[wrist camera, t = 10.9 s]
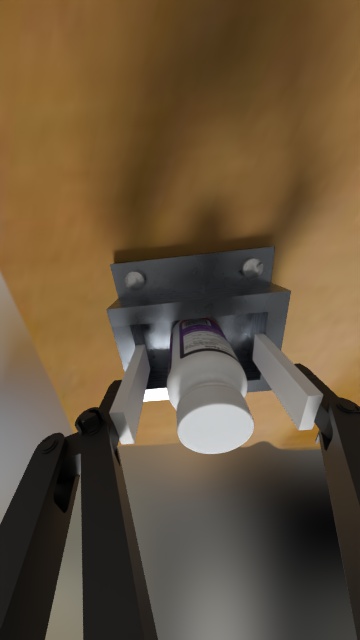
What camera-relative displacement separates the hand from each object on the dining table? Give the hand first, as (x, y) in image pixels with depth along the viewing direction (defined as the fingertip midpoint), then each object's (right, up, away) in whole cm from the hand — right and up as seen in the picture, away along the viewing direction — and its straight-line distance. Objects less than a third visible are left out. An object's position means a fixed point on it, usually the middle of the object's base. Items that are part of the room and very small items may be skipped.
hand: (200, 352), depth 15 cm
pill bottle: (0, +1, +2) cm, 3 cm away
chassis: (0, +2, +3) cm, 4 cm away
